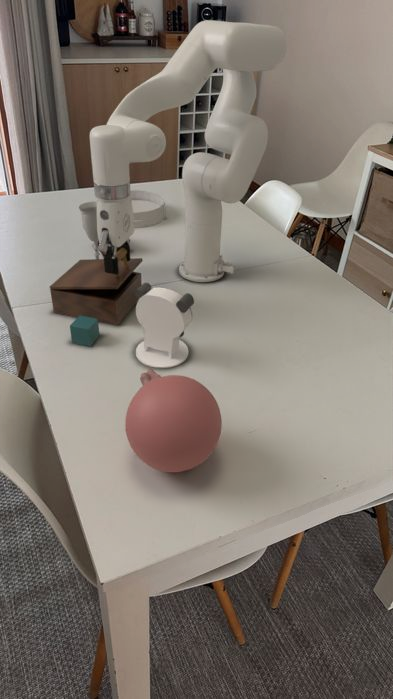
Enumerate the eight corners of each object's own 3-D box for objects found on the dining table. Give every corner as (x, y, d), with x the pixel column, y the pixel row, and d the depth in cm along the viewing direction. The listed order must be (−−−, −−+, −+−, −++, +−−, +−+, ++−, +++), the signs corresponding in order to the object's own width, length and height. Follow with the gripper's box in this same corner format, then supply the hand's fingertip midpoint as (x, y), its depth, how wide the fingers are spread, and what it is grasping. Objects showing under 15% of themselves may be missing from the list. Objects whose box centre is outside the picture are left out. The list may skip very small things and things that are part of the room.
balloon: (192, 400, 97) (195, 334, 88) (232, 479, 82) (240, 409, 73) (113, 417, 93) (107, 349, 84) (140, 503, 78) (136, 432, 69)
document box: (141, 294, 130) (141, 272, 126) (117, 325, 118) (115, 302, 114) (83, 284, 133) (80, 262, 129) (53, 312, 121) (50, 289, 118)
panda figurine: (199, 346, 112) (202, 286, 103) (177, 375, 104) (178, 312, 95) (151, 332, 116) (150, 273, 107) (126, 359, 107) (122, 297, 99)
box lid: (142, 260, 124) (138, 239, 121) (117, 289, 112) (111, 266, 109) (80, 262, 129) (74, 242, 127) (50, 289, 118) (43, 268, 115)
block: (99, 335, 114) (98, 318, 112) (90, 346, 111) (88, 329, 108) (81, 331, 115) (79, 315, 112) (71, 342, 112) (69, 325, 109)
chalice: (105, 277, 136) (100, 213, 126) (81, 274, 137) (74, 210, 127) (114, 265, 142) (110, 203, 132) (91, 263, 143) (85, 200, 133)
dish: (163, 229, 164) (162, 214, 161) (94, 226, 164) (93, 211, 161) (167, 204, 182) (166, 191, 179) (105, 202, 182) (104, 188, 179)
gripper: (112, 205, 100) (118, 286, 110) (143, 179, 113) (146, 253, 124) (77, 201, 101) (86, 280, 112) (112, 175, 115) (117, 249, 125)
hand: (117, 265), depth 118 cm, fingers closed on box lid, 6 cm apart
